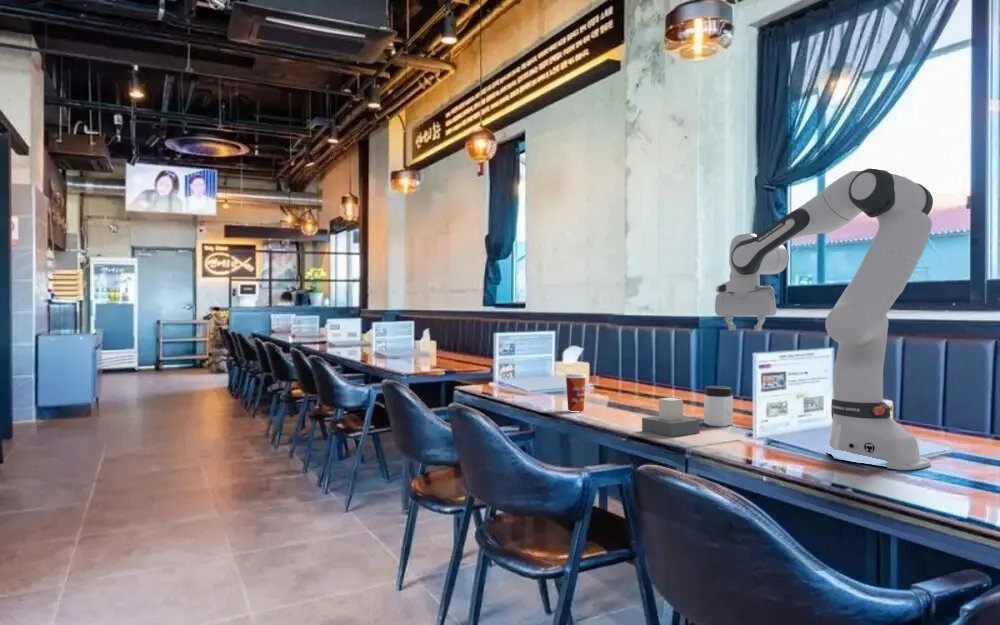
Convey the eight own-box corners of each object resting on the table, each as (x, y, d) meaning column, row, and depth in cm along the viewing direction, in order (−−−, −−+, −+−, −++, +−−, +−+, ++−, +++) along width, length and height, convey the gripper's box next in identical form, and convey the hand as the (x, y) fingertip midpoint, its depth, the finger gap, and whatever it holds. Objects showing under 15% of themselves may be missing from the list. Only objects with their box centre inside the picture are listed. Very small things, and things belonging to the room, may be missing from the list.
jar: (719, 427, 206) (719, 389, 206) (699, 423, 213) (699, 387, 213) (737, 424, 211) (737, 387, 211) (716, 420, 218) (716, 385, 218)
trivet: (699, 432, 197) (699, 419, 197) (671, 437, 191) (671, 423, 190) (669, 426, 207) (669, 414, 207) (642, 430, 201) (642, 417, 201)
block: (682, 419, 198) (682, 399, 198) (671, 420, 195) (671, 400, 195) (670, 416, 202) (670, 397, 202) (658, 418, 200) (658, 398, 199)
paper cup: (576, 413, 234) (576, 374, 234) (561, 411, 240) (560, 373, 239) (591, 411, 239) (590, 373, 239) (575, 409, 245) (575, 371, 245)
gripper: (780, 285, 197) (781, 331, 197) (724, 287, 214) (725, 329, 214) (767, 284, 194) (768, 331, 194) (711, 287, 211) (712, 330, 211)
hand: (745, 330), depth 204 cm, fingers open, 8 cm apart
